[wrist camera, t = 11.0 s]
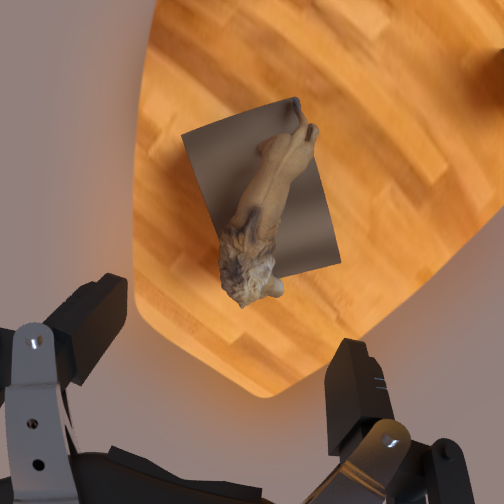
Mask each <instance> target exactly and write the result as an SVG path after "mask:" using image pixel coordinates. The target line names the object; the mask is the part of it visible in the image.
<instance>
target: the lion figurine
mask: <svg viewBox="0 0 504 504" xmlns="http://www.w3.org/2000/svg"><path fill="white" fill-rule="evenodd" d="M293 110H294V112H295V113H296V115H297V117H298V119H299V126H298V128H297V130H296V131H295V132H294V133H293V134H292V135H291V134H289V133H283V134H277V135H273V136H271V137H270V138H269V139H266V140H264V141H263V142H261V143H260V144H259V146H258V149H259V152H260V153H262V156H263V157H262V162H261V166H260V168H259V170H258V172H257V173H256V174H255V176H254V177H253V179H252V180H251V182H250V183H249V185H248V186H247V188H246V190H245V191H244V193H243V195H242V197H241V199H240V201H239V204H238V207H237V211H236V214H235V215H234V216H233V217H232V218H231V220H230V223H229V224H228V225H226V226H225V228H224V229H223V230H222V234H221V237H220V240H219V242H220V247H219V253H220V259H219V261H218V264H219V267H220V273H221V276H220V279H221V282H222V285H221V287H222V289H223V290H225V291H227V294H228V296H229V297H231V298H232V299H233V300H235V301H236V302H237V303H239V306H240V307H241V308H242V309H243V308H244V307H245V306H247V305H249V304H250V303H251V302H255V301H256V300H258V299H262V298H265V297H266V296H267V295H268V296H271V297H275V298H278V297H280V296H282V295H283V294H284V289H283V283H282V281H281V280H280V279H279V278H277V277H276V276H275V274H274V273H272V269H273V267H274V265H275V259H274V257H273V254H274V251H275V247H276V242H275V237H276V235H277V233H278V230H277V229H278V226H279V224H280V223H281V219H280V216H281V214H282V212H283V210H284V207H285V204H286V200H287V196H288V193H289V188H290V184H291V182H292V181H293V180H294V179H295V178H296V177H297V176H298V175H300V174H301V173H302V172H303V171H304V170H305V169H306V167H307V165H308V163H309V162H310V161H311V160H312V158H313V156H314V145H315V141H316V138H317V136H318V134H319V129H318V127H317V126H316V125H315V124H312V123H310V124H309V125H308V123H307V119H306V117H305V116H304V114H303V113H302V111H301V104H300V100H299V99H298V98H297V97H294V98H293ZM305 137H306V140H305Z"/></svg>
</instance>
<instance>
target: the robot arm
mask: <svg viewBox="0 0 504 504" xmlns="http://www.w3.org/2000/svg"><path fill="white" fill-rule="evenodd" d="M127 289H128V282H127V279H125V278H122V277H120V276H117V275H114V274H111V273H106V274H105V275H104V276H103V277H102V278H101V279H100V280H99V281H98V282H93V281H92V282H89V283H87V284H85V285H82V286H80V287H79V288H78V289H77V290H76V291H75V292H74V293H73V294H72V296H70V297H69V298H67V299H66V302H63V303H62V304H61V305H60V306H59V307H58V308H57V309H56V310H55V311H54V312H53V313H52V314H51V315H50V316H49V317H48V318H47V319H46V320H45V321H44V322H43V323H28V324H25V325H23V326H21V327H20V328H19V329H17V330H16V331H14V330H9V329H4V328H0V407H1V406H2V404H3V403H4V401H5V419H6V420H5V421H6V437H7V447H8V458H9V466H10V473H11V476H10V477H6V478H3V479H0V504H275V503H273V502H271V501H269V500H267V499H264V498H262V497H261V495H262V488H256V487H251V486H245V485H240V484H236V483H230V482H226V481H197V480H184V479H181V478H179V477H177V476H175V475H173V474H171V473H170V472H168V471H166V470H164V469H163V468H161V467H159V466H157V465H156V464H154V463H153V462H151V461H149V460H148V459H146V458H143V457H140V456H137V455H135V454H132V453H129V452H127V451H124V450H122V449H119V448H117V447H115V446H111V448H110V450H109V452H108V453H100V452H85V453H81V452H80V448H79V445H78V442H77V439H76V436H75V431H74V427H73V421H72V416H71V411H70V407H69V400H68V394H67V389H66V388H67V386H68V385H69V383H70V382H73V383H75V384H77V385H79V386H82V384H83V383H84V381H85V380H86V379H87V377H88V376H89V374H90V373H91V371H92V370H93V368H94V367H95V365H96V364H97V363H98V361H99V360H100V358H101V357H102V355H103V354H104V353H105V351H106V350H107V348H108V347H109V346H110V344H111V343H112V341H113V340H114V339H115V337H116V336H117V334H118V333H119V332H120V330H121V329H122V327H123V325H124V323H125V320H126V315H127ZM324 385H325V399H326V416H327V434H328V455H329V456H340V463H339V464H338V465H337V466H336V468H334V470H333V471H332V472H331V473H330V474H329V475H328V476H327V477H326V479H325V480H324V481H323V482H322V483H321V484H320V485H319V486H318V487H317V488H316V489H315V490H314V491H313V492H312V493H311V494H310V495H309V496H308V497H307V498H306V499H305V500H304V501H303V502H302V503H301V504H382V503H383V502H384V500H385V499H386V504H426V497H425V495H426V494H428V502H429V504H475V502H474V497H473V492H472V488H471V483H470V479H469V475H468V471H467V466H466V462H465V459H464V455H463V452H462V450H461V448H460V447H459V445H458V444H457V443H455V442H454V441H452V440H450V439H447V438H441V439H438V440H437V441H436V442H435V443H433V445H431V446H429V445H425V444H423V443H419V442H417V441H414V440H411V436H410V433H409V431H408V430H407V429H406V427H405V426H404V425H402V424H401V423H399V422H397V421H395V418H394V414H393V410H392V406H391V403H390V398H389V394H388V391H387V390H386V388H387V387H386V383H385V381H384V375H383V372H382V368H381V367H380V365H379V364H378V363H377V361H376V360H375V358H373V357H369V355H368V351H367V348H366V344H365V343H364V342H362V341H358V340H353V339H348V338H344V339H343V340H342V342H341V344H340V345H339V347H338V349H337V351H336V353H335V355H334V357H333V359H332V361H331V363H330V365H329V367H328V368H327V371H326V375H325V382H324Z"/></svg>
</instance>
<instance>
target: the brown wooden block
mask: <svg viewBox="0 0 504 504" xmlns="http://www.w3.org/2000/svg"><path fill="white" fill-rule="evenodd" d="M293 98H294V97H292V98H288V99H285V100H281V101H278V102H274V103H271V104H268V105H264V106H261V107H258V108H255V109H252V110H248V111H245V112H242V113H239V114H236V115H233V116H231V117H228V118H225V119H222V120H219V121H216V122H214V123H211V124H208V125H205V126H203V127H200V128H198V129H195V130H192V131H190V132H187V133H185V134H182V135H181V137H182V140H183V143H184V146H185V148H186V151H187V154H188V157H189V160H190V162H191V165H192V168H193V171H194V173H195V176H196V179H197V182H198V184H199V187H200V190H201V192H202V195H203V198H204V201H205V203H206V206H207V209H208V211H209V214H210V217H211V219H212V222H213V225H214V227H215V230H216V233H217V235H218V238H219V240H220V237H221V234H222V230H223V229H224V228H225V226H226V225H228V224H229V223H230V220H231V218H232V217H233V216H234V215H235V214H236V211H237V207H238V204H239V201H240V199H241V197H242V195H243V193H244V191H245V190H246V188H247V186H248V185H249V183H250V182H251V180H252V179H253V177H254V176H255V174H256V173H257V172H258V170H259V168H260V166H261V162H262V157H263V156H262V153H260V152H259V149H258V146H259V144H260V143H261V142H263V141H264V140H266V139H269V138H270V137H271V136H273V135H277V134H283V133H289V134H291V135H292V134H293V133H294V132H295V131H296V130H297V128H298V126H299V119H298V117H297V115H296V113H295V112H294V110H293ZM305 140H306V137H305ZM280 219H281V223H280V224H279V226H278V229H277V230H278V233H277V235H276V237H275V242H276V247H275V251H274V254H273V257H274V259H275V265H274V267H273V269H272V273H274V274H275V276H276V277H277V278H282V277H286V276H290V275H295V274H299V273H303V272H307V271H311V270H315V269H319V268H323V267H327V266H331V265H335V264H339V263H341V259H340V254H339V250H338V246H337V241H336V237H335V233H334V229H333V225H332V221H331V217H330V213H329V209H328V205H327V201H326V198H325V194H324V190H323V187H322V183H321V179H320V176H319V172H318V169H317V165H316V162H315V158H314V156H313V158H312V160H311V161H310V162H309V163H308V165H307V167H306V169H305V170H304V171H303V172H302V173H301V174H300V175H298V176H297V177H296V178H295V179H294V180H293V181H292V182H291V184H290V188H289V193H288V196H287V200H286V204H285V207H284V210H283V212H282V214H281V216H280Z"/></svg>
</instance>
